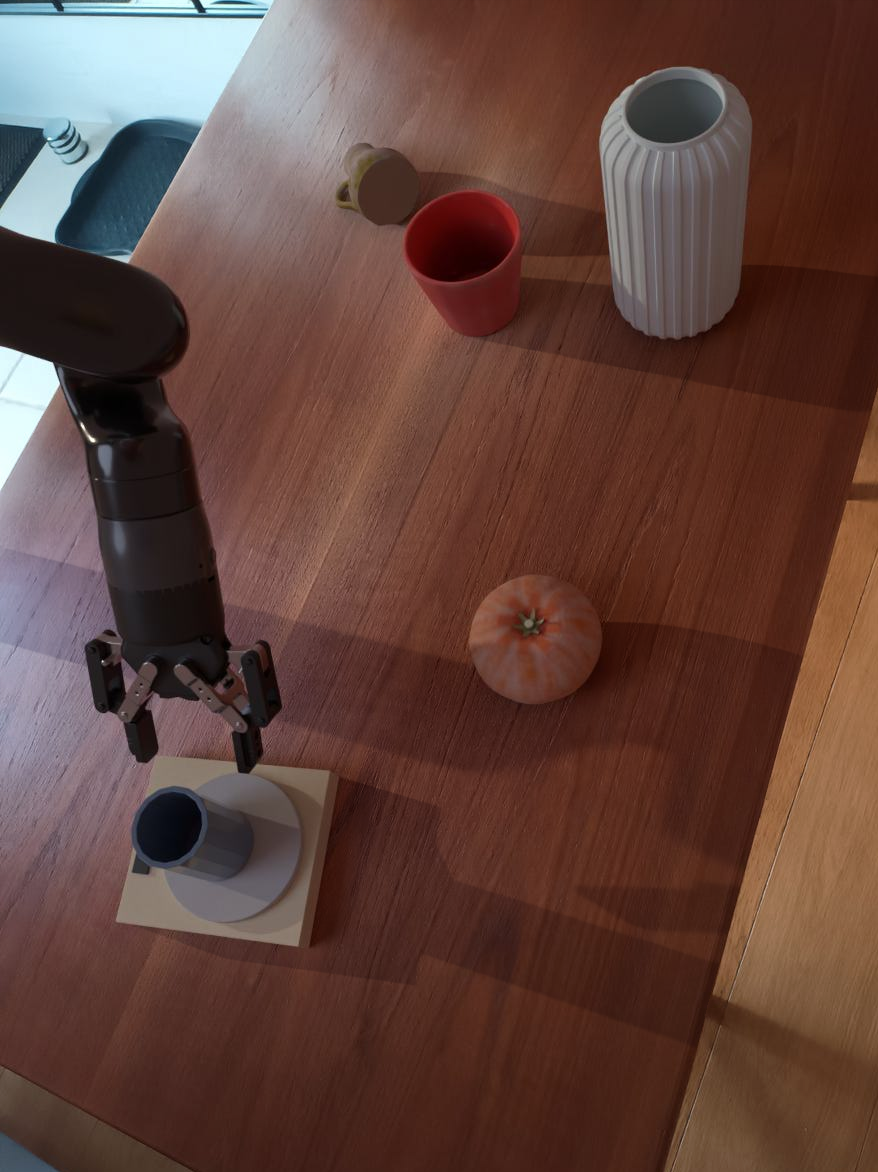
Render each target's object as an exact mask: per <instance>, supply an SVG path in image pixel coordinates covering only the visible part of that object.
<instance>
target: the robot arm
mask: <svg viewBox="0 0 878 1172" xmlns="http://www.w3.org/2000/svg"><path fill="white" fill-rule="evenodd" d="M190 340H191V324H190V319H189V315H188V312H187V310H186V307H185V305H184V303H183V301H182V300H181V298H180V296H178V294H177V292H175V291H174V289H173V288H172V286H170V285H169V284H168V283H167V282H166V281H165V280H163V279H162V278H161V277H160V276H158V275H157V274H155V273H153V272H151V271H149V270H147V269H145V268H143V267H140V266H137V265H135V264H131V263H129V262H125V261H122V260H118V259H116V258H111V257H109V256H105V255H101V254H98V253H94V252H90V251H87V250H84V249H79V248H75V247H72V246H68V245H65V244H60V243H58V242H53V241H49V240H46V239H41V238H38V237H37V238H36V237H32V236H30V235H25V234H23V233H20V232H17V231H15V230H13V229H10V228H8V227H5V226H2V225H0V347H1V348H6V349H9V350H12V351H15V352H19V353H21V354H24V355H28V356H31V357H34V358H37V359H40V360H43V361H46V362H49V363H52V364H53V368H54V370H55V374H56V377H57V380H58V382H59V385H60V388H61V390H62V394H63V396H64V399H65V401H66V404H67V407H68V410H69V412H70V414H71V417H72V419H73V422H74V424H75V427H76V430H77V432H78V434H79V438H80V441H81V443H82V448H83V452H84V461H85V462H84V463H85V467H86V468H85V469H86V473H87V478H88V483H89V487H90V492H91V496H92V501H93V505H94V510H95V515H96V522H97V523H96V525H97V538H98V539H97V540H98V547H99V551H100V552H99V553H100V557H101V562H102V566H103V570H104V575H105V581H106V584H107V589H108V594H109V599H110V605H111V609H112V613H113V618H114V622H115V627H116V632H117V633H116V632H115V631H114V630H112V629H110V628H107V629H105V630H103V631H102V632H100V633H99V634H97V635H96V636H95V637H94V638H92V639H91V640H89V641H88V642H87V643H85V645H84V653H85V660H86V665H87V671H88V676H89V677H88V678H89V683H90V689H91V695H92V699H93V706H94V708H95V710H96V711H97V712H98V713H100V714H107V713H108V712H109V713H112V714H114V715H116V716H117V718H118V720H119V721H121V722H122V723H123V728H124V732H125V737H126V742H127V746H128V751H129V752H130V753H131V755H132V756H134V757H135V761H136V762H137V763H138V764H139V763H140V764H148V763H150V762H151V760H153V759H154V758H155V756H156V755H158V753H159V749H160V745H159V741H158V736H157V732H156V726H155V722H154V717H153V711H152V709H146V708H147V707H148V705H149V704H150V703H151V700H152V699H153V697H155V694H156V695H158V697H159V699H165V700H169V699H175V698H179V699H183V700H186V701H190V702H199V701H201V702H202V703H203V704H204V705H205V706H206V707H207V708H208V709H209V711H211V712H212V713H213V714H219V715H220V716H221V717H222V718H223V719H224V720H225V721H226V722H227V724H228V725H229V726H230V727H231V728H232V729H233V731H232V732H231V738H232V744H233V752H234V756H235V762H236V763H237V769H238V772H239V773H244V774H249V773H250V772H251V771H252V770H253V768H254V767H255V766H256V765H257V764H259V763H260V761H261V760H262V758H263V757H264V753H265V751H264V746H263V740H262V732H261V729H265V728H268V726H269V725H270V724H271V723H272V721H273V720H274V718H275V717H276V716H277V715H278V714H279V713H280V712H281V711H282V710H283V703H282V697H281V693H280V687H279V684H278V677H277V674H276V669H275V663H274V658H273V654H272V649H271V645H270V644H269V642H268V641H267V640H264V639H258V640H256V641H255V642H254V643H253V644H252V645H234V644H233V643H232V642H231V640H230V639H229V638H228V636H227V634H226V628H225V627H226V612H225V607H224V606H225V605H224V600H223V593H222V587H221V583H220V582H221V581H220V575H219V570H218V569H219V568H218V562H217V551H216V549H215V545H214V539H213V533H212V528H211V524H210V521H209V518H208V515H207V511H206V508H205V504H204V501H203V496H202V490H201V483H200V477H199V471H198V466H197V461H196V460H197V459H196V454H195V448H194V444H193V440H192V436H191V433H190V431H189V429H188V427H187V426H186V424H185V423H184V421H183V420H182V418H180V417H179V416H178V415H177V414H176V412H174V410H173V409H172V406H171V405H170V401H169V399H168V395H167V392H166V388H165V385H164V381H163V378H165V377H167V376H168V375H169V374H171V373H172V372H173V371H175V369H177V367H179V365H180V364H181V362H182V361H183V360H184V358H185V357H186V354H187V352H188V349H189V346H190ZM117 634H118V635H119V636H118V635H117ZM122 660H124V661H125V662H126V664H128V666H129V667H130V668H131V669H132V670H133V671H134V672H135V673H136V676H135V679H134V680H133V681H132V683H131V685H130V686H129V689H128V690H127V691H126V683H125V678H124V677H125V676H124V672H123V671H124V670H123V664H122ZM231 664H232V665H234V666H235V667H236V668H237V674H236V673H235V672H234V671H233V669H232V668H231V667H230V665H231ZM240 677H241V678H243V679H244V682H243V681H242V679H241V678H240ZM219 683H220V684H221V686H222V687H223V692H222V693H220V692H218V691H217V689H216V688H217V686H218V684H219ZM245 688H246V689H245Z"/></svg>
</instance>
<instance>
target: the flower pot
mask: <svg viewBox="0 0 878 1172" xmlns="http://www.w3.org/2000/svg"><path fill="white" fill-rule="evenodd" d="M522 229H523V228H522V223H521V219H520V218H519V215H518V213H517V211H516V210H515V208H514V207H513V206H512V205H511V204H510V203H509V202H508V201H507V200H505V199H504V198H503V197H502V196H499V195H497V194H495V193H492V192H489V191H485V190H480V189H461V190H457V191H452V192H449V193H445V194H443V195H441V196H438V197H436V198H434V199H433V200H431V201H429V202H428V203H427V204H425V205H424V206H423V207H422V208H421V209H419V210H418V211H417V212H416V214H414V216H413V217H412V218H411V220H410V221H409V223H408V225H407V227H406V229H405V231H404V235H403V237H402V245H401V247H402V249H401V250H402V256H403V260H404V262H405V264H406V266H407V268H408V270H409V271H410V273H411V275H412V276H413V278H414V279H415V281H416V282H417V283H418V285H419V287H420V288H421V289H422V291H423V293H424V294H425V296H426V297H427V298H428V300H429V301H430V303H431V304H432V306H433V307H434V308H435V310H436V311H437V313H438V314H439V315H440V317H441V318H442V319H443V321H444V322H445V324H447V326H448V327H449V328H450V329H451V330H452V331H454V332H456V333H457V334H460V335H462V336H466V337H472V338H473V337H475V338H476V337H485V336H488V335H492V334H493V333H495V332H497V331H499V330H501V329H503V328H505V326H507V325H508V324H509V323H510V322H511V320H512V319H513V318H514V316H515V315H516V313H517V311H518V307H519V303H520V290H521V276H522V275H521V273H522V253H523V252H522V251H523V249H522V245H523V231H522Z"/></svg>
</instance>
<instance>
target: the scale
mask: <svg viewBox="0 0 878 1172" xmlns="http://www.w3.org/2000/svg"><path fill="white" fill-rule="evenodd" d="M339 781H340V776H338V775H337V774H336V773H334V772H332V771H331V770H327V769H316V768H304V767H296V766H295V767H294V766H285V765H283V766H282V765H272V764H262V763H261V764H260V763H257V765H256V766H255V767H254V768H253V770H252V771H251V772H250V773H249V774H244V773H239V772H238V769H237V763H236V761H229V760H217V759H207V758H197V757H196V758H195V757H186V756H185V757H184V756H175V755H174V756H173V755H163V754H156V755H155V756H154V761H153V765H152V769H151V773H150V778H149V781H148V784H147V785H148V786H147V790H146V795H145V799H146V798H147V797H149V796H150V795H152V794H153V793H155V792H156V791H157V790H159V789H162V788H166V787H170V786H179V787H185V788H189V789H191V790H193V791H196V792H198V793H200V794H203V795H205V796H207V797H209V798H212V799H214V800H216V801H218V802H221V803H223V804H225V805H227V806H230V807H232V808H234V809H235V810H237V811H239V812H240V813H242V814H243V815H244V816H245V817H246V818H247V820H248V821H249V823H250V825H251V827H252V830H253V836H254V844H253V850H252V853H251V856H250V858H249V860H248V862H247V863H246V865H245V866H244V867H243V869H242V870H241V871H240V872H238V873H237V874H236V875H235V876H233V877H231V878H229V879H227V880H224V881H219V882H210V881H206V880H201V879H197V878H193V877H189V876H185V875H181V874H178V873H174V872H170V871H166V870H162V869H159V868H155V867H151V866H149V865H148V864H146V863H145V862H144V861H143V860H141V859H140V858H139V857H138V855H137V853H136V851H135V849H134V847H132V852H131V856H130V860H129V865H128V868H127V870H128V871H127V872H126V877H125V882H124V886H123V890H122V894H121V898H120V903H119V907H118V911H117V915H116V918H115V922H116V923H119V924H126V925H133V926H141V927H148V928H153V929H155V928H156V929H162V930H170V931H177V932H184V933H193V934H199V935H208V936H214V937H221V938H230V939H237V940H244V941H253V942H258V943H267V944H274V945H280V946H288V947H296V948H304V949H309V948H310V946H311V945H310V944H311V938H312V933H313V928H314V922H315V916H316V910H317V904H318V899H319V894H320V889H321V882H322V877H323V871H324V867H325V860H326V854H327V849H328V843H329V837H330V832H331V827H332V820H333V815H334V809H335V803H336V799H337V792H338V788H339ZM145 799H144V800H145Z"/></svg>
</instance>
